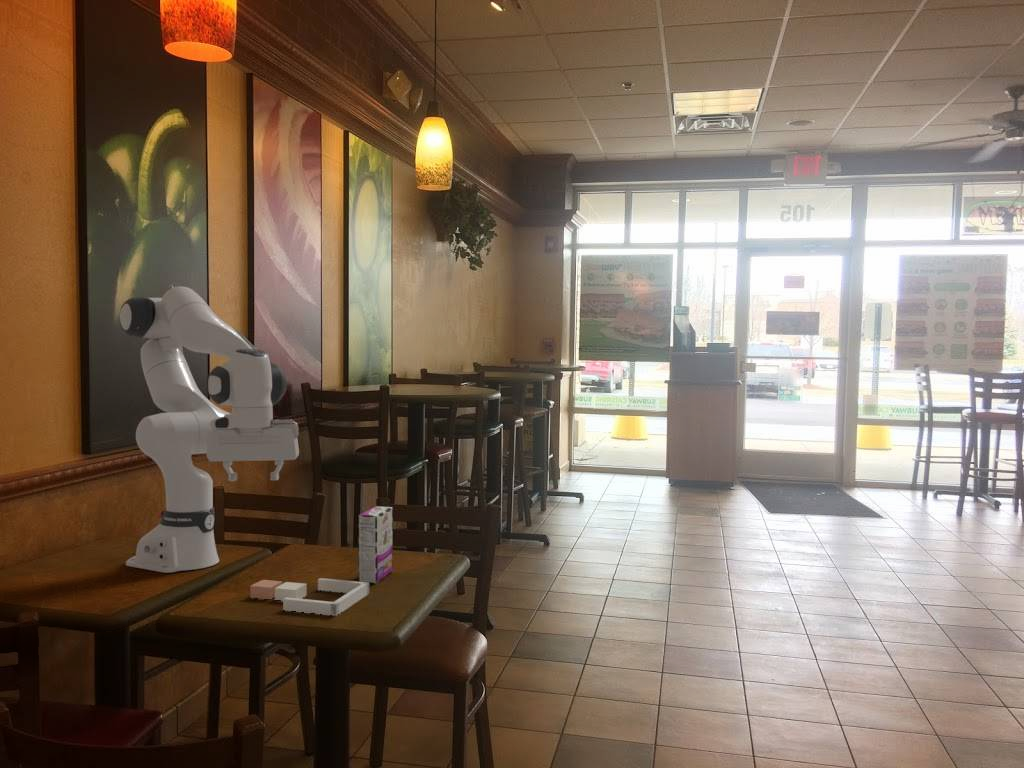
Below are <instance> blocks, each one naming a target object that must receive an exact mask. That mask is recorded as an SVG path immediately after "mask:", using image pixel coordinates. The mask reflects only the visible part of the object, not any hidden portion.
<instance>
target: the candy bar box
mask: <svg viewBox="0 0 1024 768" xmlns="http://www.w3.org/2000/svg"><path fill="white" fill-rule="evenodd" d="M393 509H394V508H393V507H392V506H380V505H379V506H373V507H372V508H370V509H367V510H365V511H364V512H363V513H360V514H359V515H358V582H368V583H369V584H378V583H380V582H381V581H382V580H383V579H384V578H386V577H387V576H389V575H390V574H391V573H392V572H394V570H393V569H394V568H393V567H394V565H393V564H394V563H393V559H394V557H393V553H394V552H393V544H394V543H393V542H394V541H393V540H394V539H393V533H394V531H393V528H394V527H393V524H394V523H393V521H394V520H393Z"/></svg>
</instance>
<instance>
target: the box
mask: <svg viewBox="0 0 1024 768" xmlns="http://www.w3.org/2000/svg"><path fill="white" fill-rule="evenodd" d="M320 590H321V591H322V592H330V591H331V593H341V592H342V593H343V594H344V595H342V596H341V597H339V598H337V599H336V600H334V601H326V600H319V599H318V600H317V599H307V598H302V599H298V598H288V597H286V598H284V599H283V601H282V611H283V610H285V612H291V611H296V612H295V613H301V612H304V613H303V614H310V613H315V614H314V615H320V614H322V615H323V616H330V615H332V616H331V617H337V616H338V614H339V615H340V614H342V613H343V612H345V611H347V609H349V608H350V607H352V606H354V604H356V603H358V602H359V601H361V600H362V599H363V598H365V597H367V596H368V595H369V594H370V583H368V582H359V581H356V580H355V581H354V580H345V579H336V578H335V579H333V578H324V577H323V578H318V579H317V591H320ZM321 591H320V592H321ZM342 593H341V594H342ZM341 612H342V613H341ZM322 615H321V616H322Z"/></svg>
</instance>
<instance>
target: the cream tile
mask: <svg viewBox="0 0 1024 768" xmlns="http://www.w3.org/2000/svg"><path fill="white" fill-rule="evenodd" d="M307 585H308V583H304V582H303V583H302V582H293V581H292V582H291V581H285V582H283V584H282V585H280V586H278V587H276V588H275V598H274V601H275V600H281V601H280V602H283V599H284V598H286V597H288V598H298V599H304V598H306V597H307V595H308V594H307V590H308V589H307ZM305 596H306V597H305ZM303 597H304V598H303Z"/></svg>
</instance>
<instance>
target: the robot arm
mask: <svg viewBox="0 0 1024 768" xmlns="http://www.w3.org/2000/svg"><path fill="white" fill-rule="evenodd" d="M119 312H120V313H119V323H120V327H121V329H122V331H123V332H124V334H126V335H127V336H129V337H132V338H133V337H134V338H137V339H142V338H145V339H148V340H147V341H145V342H144V344H143V345H142V347H141V348H140V361H141V368H142V371H143V375H144V379H145V382H146V384H147V387H148V390H149V393H150V396H151V399H152V401H153V403H154V405H155V406H156V407H157V408H158V409H160V410H161V411H163V412H160V413H156V414H152V415H151V414H150V415H149V416H145V417H143V418H142V419H141V420H140V421H139V423H138V425H137V427H136V430H135V441H136V444H137V446H138V448H139V450H140V451H141V452H142V453H143V454H144V455H146V456H147V457H149V458H150V459H152V461H153V462H155V464H156V465H157V466H158V468H159V470H160V472H161V473H162V477H163V481H164V487H165V509H164V510H162V511H161V512H156V515H157V516H156V518H160V520H159V524H158V525H156V526H155V527H154V528H153V529H151V530H150V531H149V532H147V533H146V534H145V535H144V536H142V537H141V538H140V539H139V540H138V542H137V546H136V552H135V555H134V556H132V557H130V558H128V559H127V560H126V561H125V566H126V567H131V568H138V569H142V570H148V571H154V572H159V573H164V574H166V573H167V574H168V573H176V572H181V571H191V570H200V569H205V568H209V567H211V566H214V565H216V564H218V563H219V562H220V558H219V555H218V551H217V547H216V541H215V533H214V527H215V520H216V518H215V507H214V506H213V502H214V501H213V499H214V498H213V496H214V495H213V494H214V492H213V490H214V489H213V488H214V487H213V485H214V481H213V479H212V477H211V475H210V474H209V473H208V472H207V471H205V470H203V469H200V468H198V467H196V466H195V465H194V464H193V463H194V462H193V460H192V455H201V454H202V455H204V454H206V458H207V459H208V460H209V462H222V466H223V468H224V470H225V472H226V473H227V475H228V482H237V481H238V472H234V469H232V467H231V466H233V462H248V461H249V462H250V461H251V462H254V461H262V462H263V461H274V465H275V466H276V468H275V469H274V471H271V472H270V473H269V474H270V478H269V480H270V481H279V479H280V474H279V473H280V471H281V470H282V468H283V465H284V461H293V460H296V459H297V458H298V457H299V456H300V455H299V454H300V448H299V442H298V437H299V433H300V431H299V429H300V428H299V425H298V423H297V422H295V421H294V420H293V419H288V418H287V419H274V417H273V416H274V414H273V413H274V412H273V411H274V409H273V406H275V405H276V404H278V402H279V401H281V400H282V398H283V397H284V396H285V394H286V391H287V388H288V387H287V386H288V384H287V378H286V376H285V374H284V371H282V369H281V368H280V367H279V366H278V365H277V364H275V363H273V362H271V361H270V360H271V359H270V357H269V354H268V353H267V352H265V351H263V350H260V349H257V348H256V346H254V345H253V344H252V342H250V341H249V340H248V338H246V336H244V334H242V333H241V332H240V331H239V330H237V329H235V328H234V327H232V326H230V325H229V324H228V323H226V322H225V321H223V320H222V319H221V318H220V317H219V316H218V315H216V314H215V312H214V311H213V310H212V309H211V308H210V305H208V303H207V302H206V301H205V299H204V298H202V297H201V296H200V294H198V293H197V292H196V291H195V290H193V289H192V288H190V287H187V286H182V285H181V286H175V287H172V288H170V289H168V290H167V291H166V292H164V294H163V295H162V297H143V296H138V297H131V298H128V299H127V300H126V301H124V302H123V304H122V305H121V307H120V311H119ZM183 347H184V348H185V349H187V350H189V351H191V352H195V353H201V354H207V355H215V356H220V357H224V358H226V359H229V360H228V361H227V362H225V363H223V364H221V365H216V366H215V367H213V369H212V370H211V371H210V372H209V373H208V375H207V377H206V391H207V394H208V395H207V396H208V397H209V398H210V399H211V400H212V401H210V400H209V399H208V398H207V397H206V396H205V395H204V394H203V393H202V391H201V390H200V389H199V387H198V385H197V383H196V381H195V379H194V377H193V375H192V372H191V370H190V366H189V364H188V362H187V360H186V358H185V355H184V353H183V352H184V351H183ZM213 402H214V403H215V404H216V405H215V404H214V403H213ZM217 405H222V406H231V412H228V411H226V410H224V409H222V408H220V407H218V406H217Z"/></svg>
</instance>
